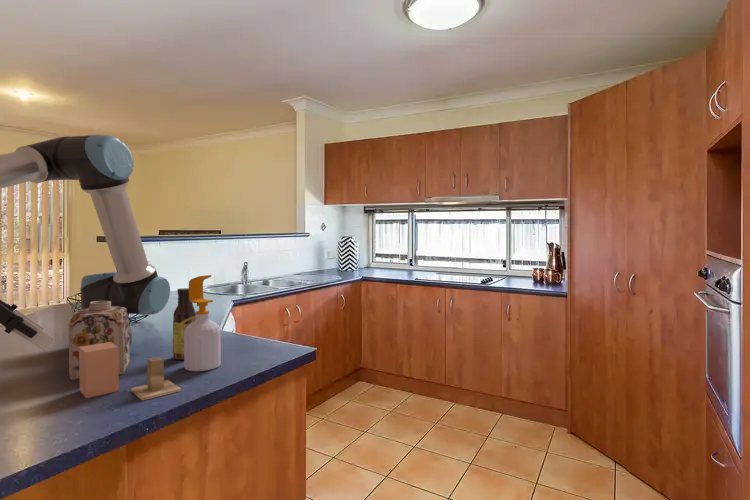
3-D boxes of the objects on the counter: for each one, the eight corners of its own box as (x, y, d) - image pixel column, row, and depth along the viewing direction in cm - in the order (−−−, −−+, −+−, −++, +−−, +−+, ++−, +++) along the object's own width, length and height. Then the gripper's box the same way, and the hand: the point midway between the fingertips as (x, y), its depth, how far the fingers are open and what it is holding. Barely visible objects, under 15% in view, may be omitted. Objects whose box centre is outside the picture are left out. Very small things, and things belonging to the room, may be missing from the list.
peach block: (79, 390, 95) (78, 346, 95) (111, 384, 100) (110, 341, 99) (86, 398, 91) (85, 352, 91) (118, 390, 95) (118, 346, 95)
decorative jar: (80, 366, 113) (79, 299, 112) (130, 361, 117) (129, 297, 117) (68, 381, 102) (66, 306, 101) (124, 375, 106) (122, 303, 106)
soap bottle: (198, 374, 107) (197, 277, 106) (177, 368, 112) (176, 275, 111) (228, 365, 114) (227, 274, 114) (206, 359, 119) (205, 273, 118)
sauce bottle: (187, 361, 118) (186, 290, 117) (167, 359, 119) (166, 289, 118) (201, 354, 124) (201, 287, 123) (182, 353, 125) (182, 286, 125)
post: (130, 390, 95) (130, 358, 95) (167, 382, 101) (167, 352, 101) (142, 400, 90) (141, 366, 89) (181, 391, 95) (180, 359, 95)
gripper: (-81, 280, 84) (20, 342, 95) (-88, 293, 66) (36, 367, 77) (-44, 253, 87) (49, 315, 98) (-41, 258, 70) (71, 333, 81)
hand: (43, 338), depth 88 cm, fingers open, 13 cm apart
